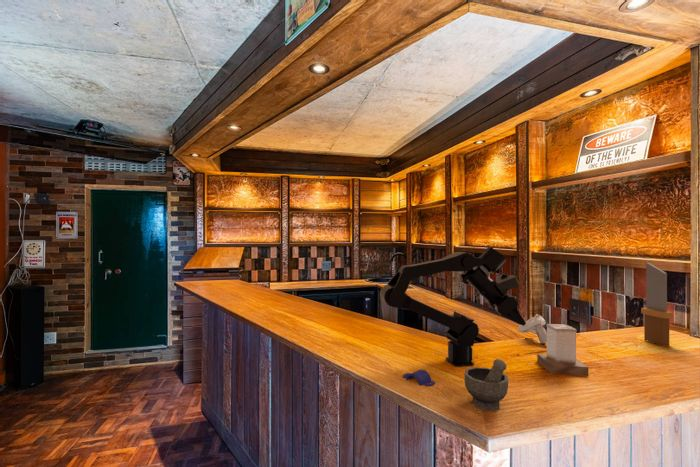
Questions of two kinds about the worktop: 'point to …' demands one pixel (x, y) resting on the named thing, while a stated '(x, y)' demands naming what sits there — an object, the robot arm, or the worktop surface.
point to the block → (562, 366)
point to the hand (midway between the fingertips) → (520, 321)
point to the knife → (656, 306)
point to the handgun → (535, 324)
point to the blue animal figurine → (420, 377)
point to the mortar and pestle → (487, 385)
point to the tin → (561, 343)
